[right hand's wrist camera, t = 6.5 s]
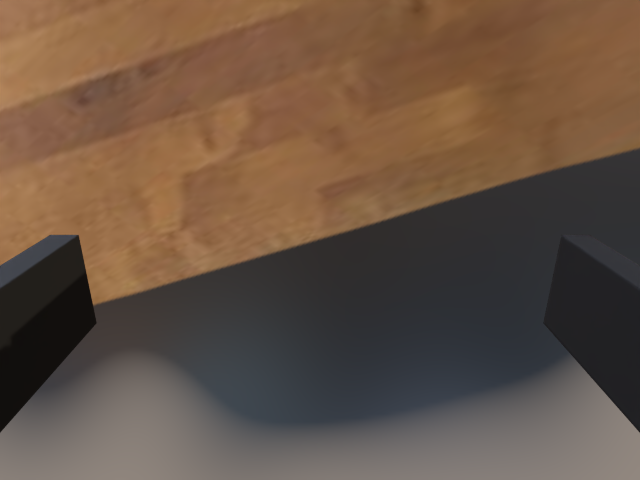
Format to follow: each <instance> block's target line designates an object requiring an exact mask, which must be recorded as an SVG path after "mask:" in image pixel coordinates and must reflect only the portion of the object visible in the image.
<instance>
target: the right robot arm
mask: <svg viewBox="0 0 640 480" xmlns="http://www.w3.org/2000/svg"><path fill="white" fill-rule="evenodd" d="M95 324H96V318H95V313H94V308H93V303H92V299H91V294H90V289H89V284H88V279H87V274H86V269H85V264H84V260H83V255H82V250H81V245H80V240H79V235H49V236H48V237H46V238H45V239H43V240H41V241H40V242H38V243H36V244H35V245H33V246H32V247H30V248H28V249H27V250H25V251H23V252H22V253H20V254H19V255H17V256H15V257H14V258H12V259H10V260H9V261H7V262H5V263H4V264H2V265H1V266H0V432H1V431H2V430H3V429H4V428H5V426H6V425H7V424H8V423H9V422H10V421H11V420H12V419H13V417H14V416H15V415H16V414H17V413H18V412H19V411H20V409H21V408H22V407H23V406H24V405H25V404H26V403H27V401H28V400H29V399H30V398H31V397H32V396H33V395H34V394H35V392H36V391H37V390H38V389H39V388H40V387H41V386H42V384H43V383H44V382H45V381H46V380H47V379H48V378H49V376H50V375H51V374H52V373H53V372H54V371H55V370H56V369H57V367H58V366H59V365H60V364H61V363H62V362H63V361H64V359H65V358H66V357H67V356H68V355H69V354H70V353H71V351H72V350H73V349H74V348H75V347H76V346H77V345H78V344H79V342H80V341H81V340H82V339H83V338H84V337H85V335H86V334H87V333H88V332H89V331H90V330H91V329H92V328H93V327H94V325H95ZM544 324H545V325H546V326H547V328H548V329H549V330H550V331H551V332H552V333H553V334H554V336H555V337H556V338H557V339H558V340H559V341H560V342H561V344H562V345H563V346H564V347H565V348H566V349H567V350H568V351H569V353H570V354H571V355H572V356H573V357H574V358H575V359H576V360H577V362H578V363H579V364H580V365H581V366H582V367H583V368H584V370H585V371H586V372H587V373H588V374H589V375H590V376H591V378H592V379H593V380H594V381H595V382H596V383H597V384H598V386H599V387H600V388H601V389H602V390H603V391H604V392H605V393H606V395H607V396H608V397H609V398H610V399H611V400H612V401H613V403H614V404H615V405H616V406H617V407H618V408H619V409H620V411H621V412H622V413H623V414H624V415H625V416H626V417H627V418H628V420H629V421H630V422H631V423H632V424H633V425H634V426H635V428H636V429H637V430H638V431H639V432H640V266H639V265H638V264H636V263H634V262H633V261H631V260H630V259H628V258H626V257H625V256H623V255H621V254H620V253H618V252H617V251H615V250H613V249H612V248H610V247H608V246H607V245H605V244H604V243H602V242H600V241H599V240H597V239H595V238H594V237H592V236H591V235H562V236H561V240H560V245H559V250H558V255H557V260H556V264H555V269H554V274H553V279H552V284H551V289H550V294H549V299H548V303H547V308H546V313H545V318H544Z"/></svg>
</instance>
